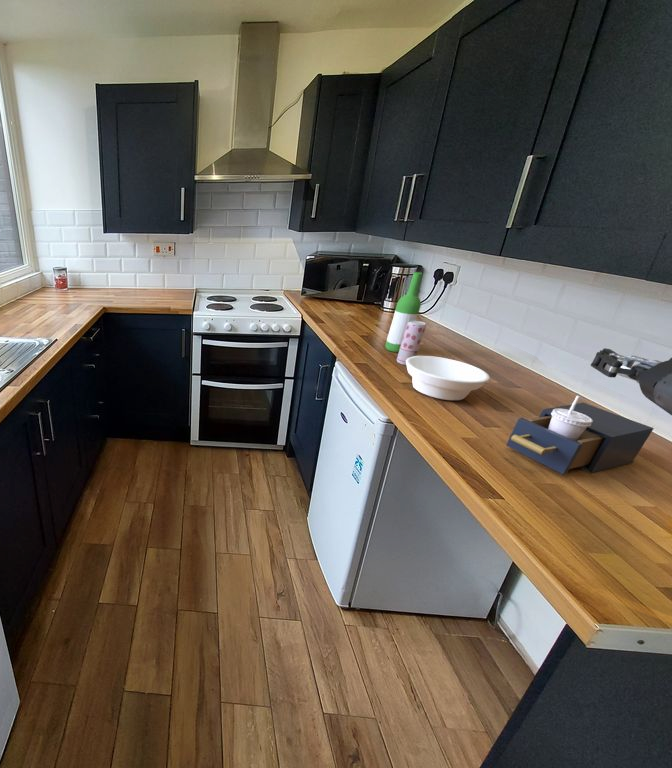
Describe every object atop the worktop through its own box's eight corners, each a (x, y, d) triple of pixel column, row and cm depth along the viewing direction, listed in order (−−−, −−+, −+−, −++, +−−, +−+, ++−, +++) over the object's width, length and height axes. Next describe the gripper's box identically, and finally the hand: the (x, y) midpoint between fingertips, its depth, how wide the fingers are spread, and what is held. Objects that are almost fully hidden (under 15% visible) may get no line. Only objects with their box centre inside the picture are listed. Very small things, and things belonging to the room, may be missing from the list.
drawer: (547, 478, 82) (563, 448, 79) (490, 448, 92) (503, 420, 89) (603, 464, 88) (620, 436, 85) (544, 437, 98) (557, 411, 94)
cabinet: (591, 473, 86) (612, 437, 82) (526, 442, 97) (543, 409, 93) (632, 462, 90) (654, 428, 87) (566, 434, 101) (583, 402, 98)
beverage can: (395, 358, 149) (407, 319, 143) (413, 361, 147) (425, 321, 141) (396, 363, 144) (408, 323, 138) (414, 366, 142) (427, 325, 136)
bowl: (389, 375, 133) (396, 352, 130) (459, 382, 130) (468, 359, 126) (412, 403, 115) (421, 377, 111) (494, 412, 111) (506, 385, 108)
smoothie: (533, 442, 93) (560, 387, 88) (570, 452, 90) (601, 396, 84) (534, 453, 89) (563, 397, 83) (574, 465, 85) (606, 406, 79)
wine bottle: (407, 354, 154) (432, 275, 141) (384, 351, 156) (407, 273, 144) (405, 349, 160) (429, 272, 148) (384, 345, 163) (405, 270, 151)
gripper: (789, 379, 52) (707, 345, 65) (639, 358, 58) (591, 331, 71) (752, 428, 55) (680, 386, 68) (613, 404, 61) (572, 369, 74)
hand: (635, 358), depth 70 cm, fingers open, 8 cm apart
